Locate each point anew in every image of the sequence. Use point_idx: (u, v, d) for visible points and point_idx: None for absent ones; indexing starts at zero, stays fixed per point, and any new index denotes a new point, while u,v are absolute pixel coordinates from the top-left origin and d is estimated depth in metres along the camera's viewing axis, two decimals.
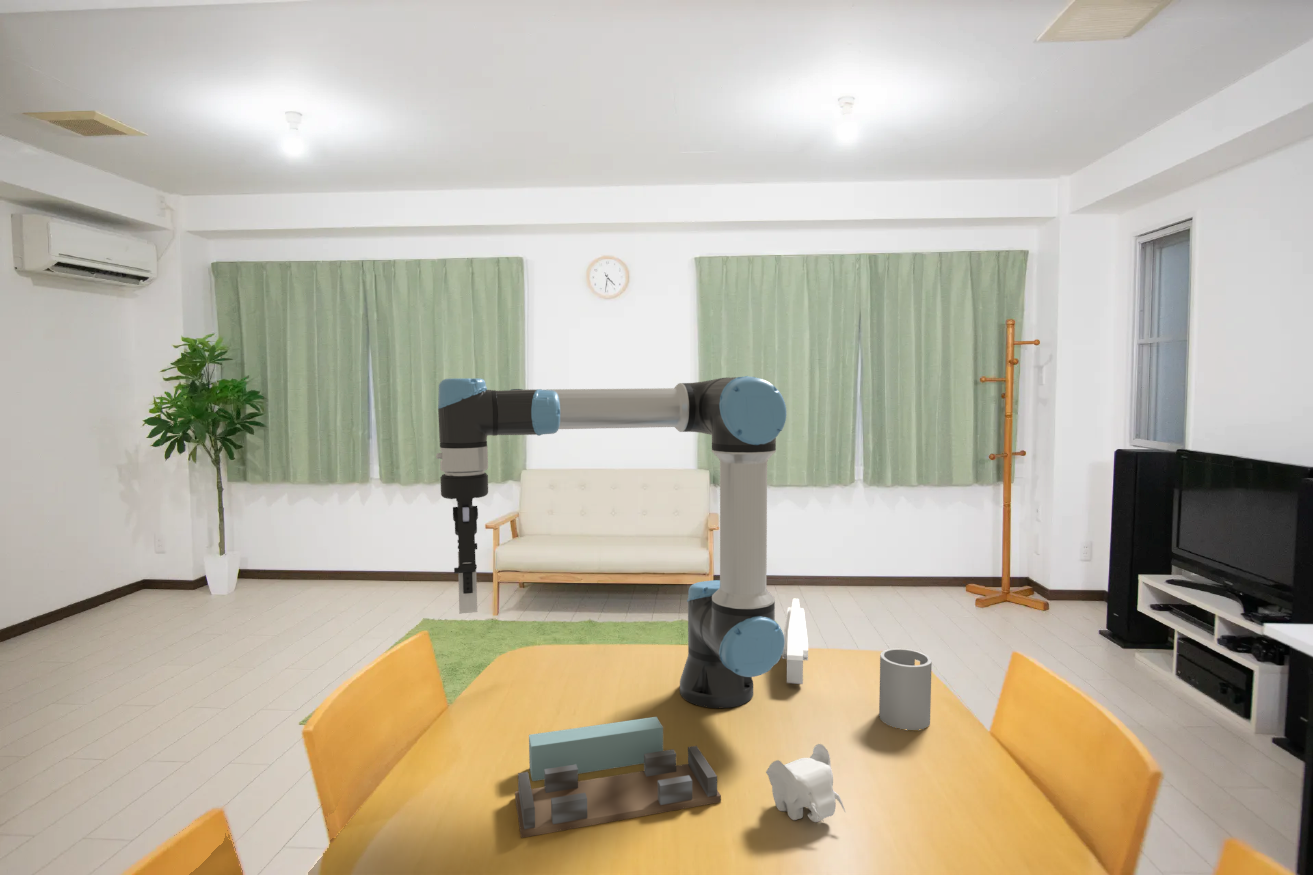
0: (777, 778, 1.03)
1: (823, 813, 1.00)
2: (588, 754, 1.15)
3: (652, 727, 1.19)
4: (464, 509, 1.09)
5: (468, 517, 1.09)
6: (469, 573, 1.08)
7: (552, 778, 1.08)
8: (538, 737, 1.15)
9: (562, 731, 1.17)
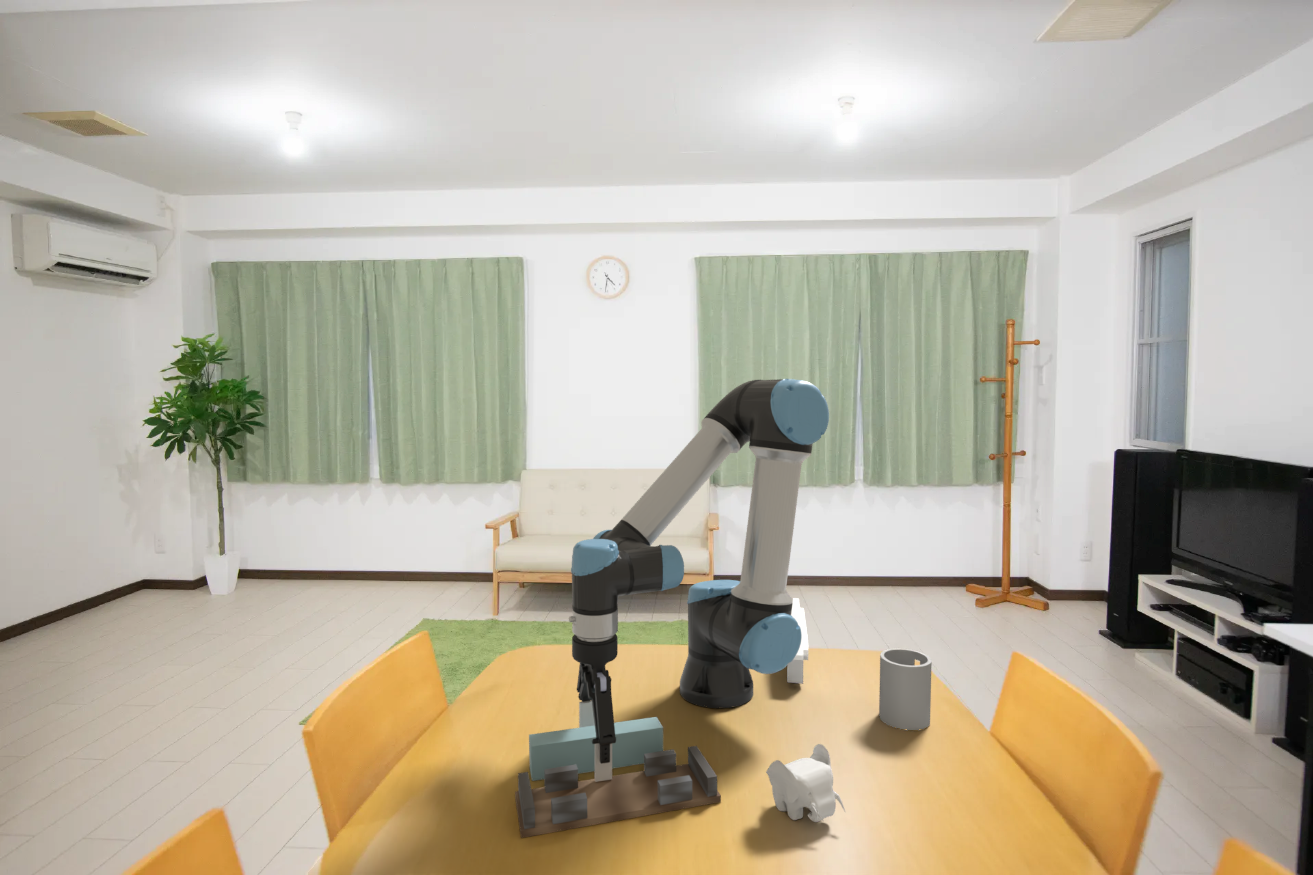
0: (777, 778, 1.03)
1: (823, 813, 1.00)
2: (588, 753, 1.15)
3: (652, 727, 1.18)
4: (602, 679, 1.10)
5: (605, 687, 1.10)
6: (607, 744, 1.09)
7: (552, 778, 1.08)
8: (538, 737, 1.15)
9: (562, 731, 1.17)
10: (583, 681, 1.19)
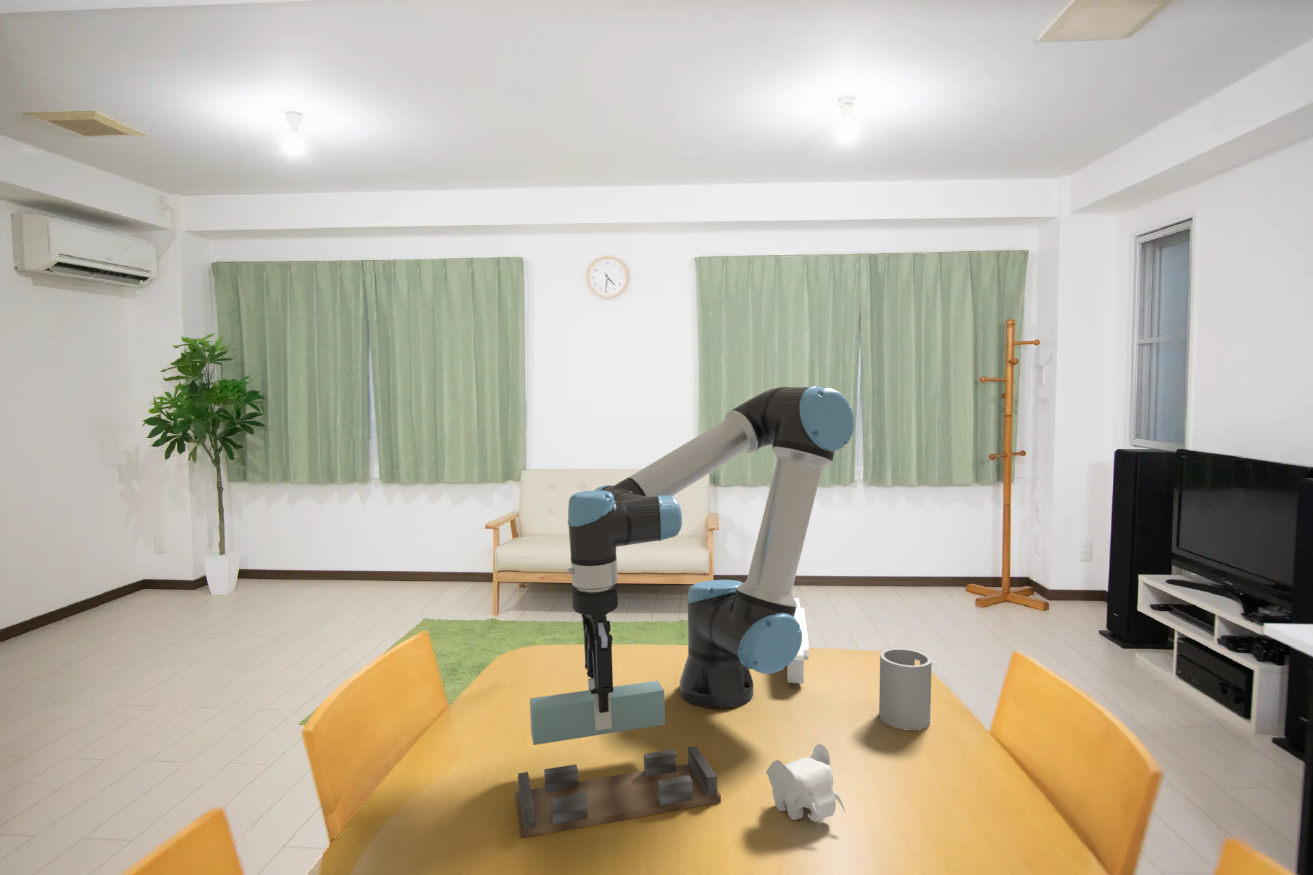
0: (777, 778, 1.03)
1: (823, 813, 1.00)
2: (589, 716, 1.15)
3: (653, 690, 1.18)
4: (603, 639, 1.10)
5: (606, 645, 1.10)
6: (605, 693, 1.13)
7: (552, 778, 1.08)
8: (539, 700, 1.15)
9: (563, 695, 1.17)
10: (587, 639, 1.17)
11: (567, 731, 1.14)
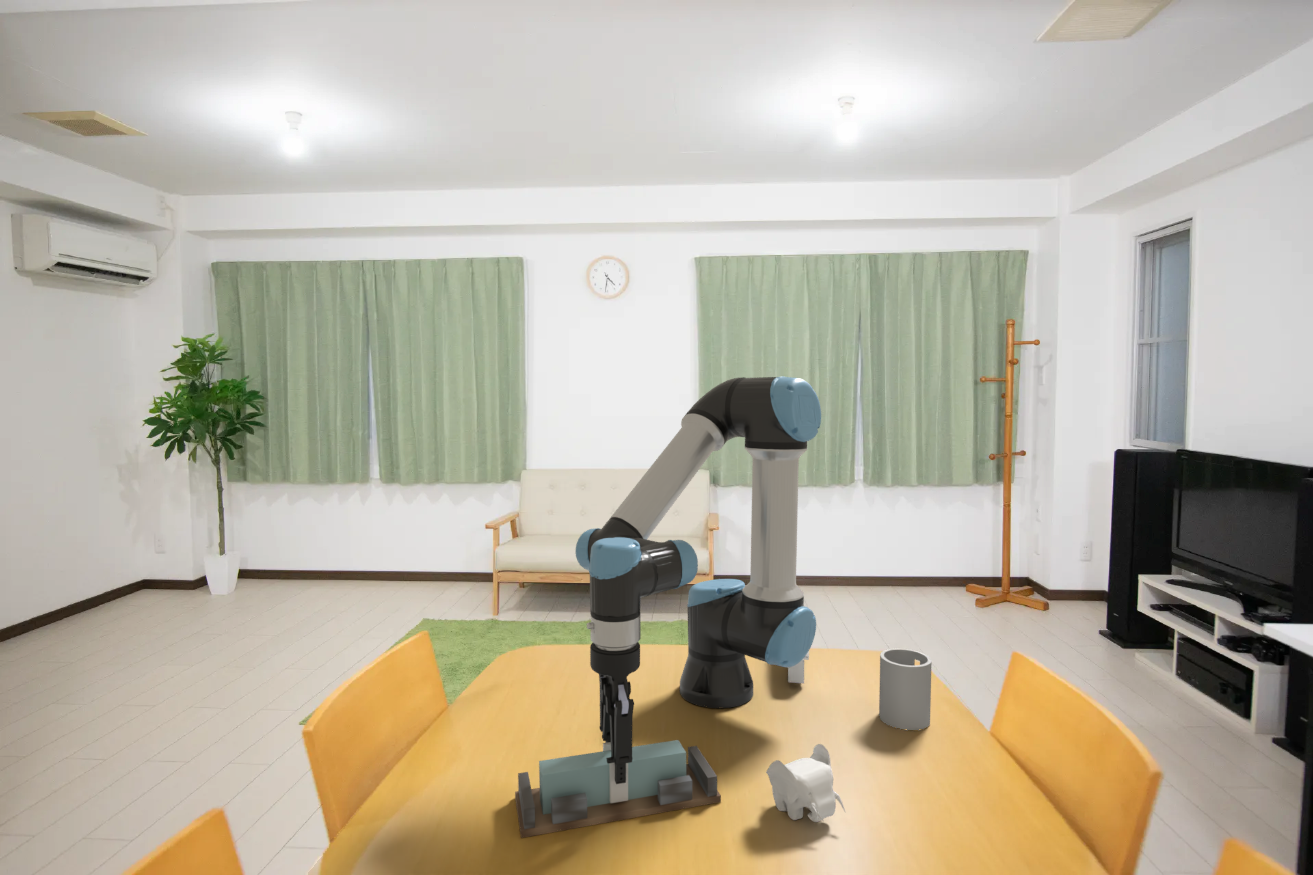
0: (777, 778, 1.03)
1: (823, 813, 1.00)
2: (604, 782, 1.05)
3: (674, 752, 1.08)
4: (624, 704, 1.00)
5: (627, 711, 1.00)
6: None
7: None
8: (549, 764, 1.05)
9: (575, 757, 1.07)
10: (604, 700, 1.07)
11: None
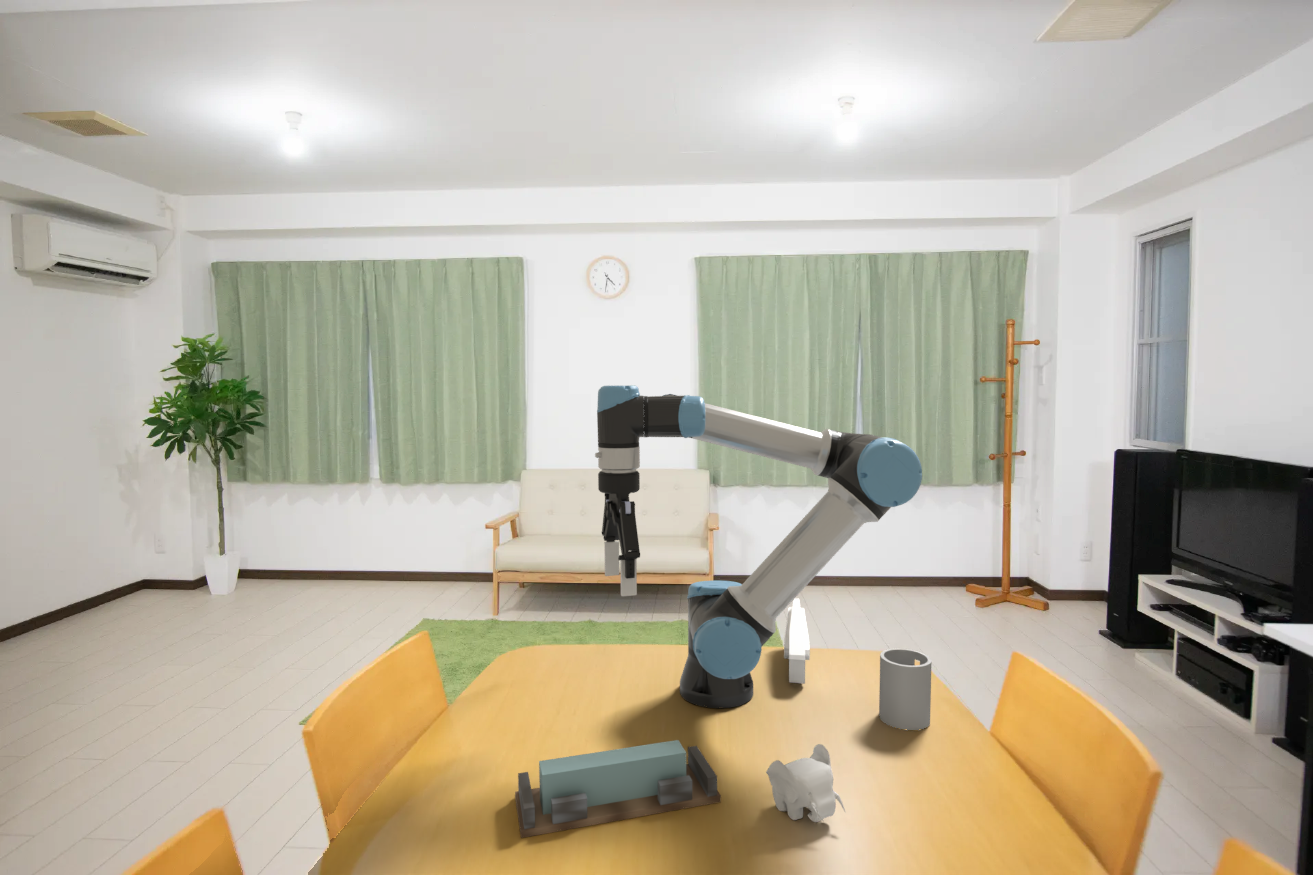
0: (777, 778, 1.03)
1: (823, 813, 1.00)
2: (604, 782, 1.05)
3: (674, 752, 1.08)
4: (626, 503, 1.22)
5: (630, 510, 1.22)
6: (632, 560, 1.21)
7: None
8: (549, 764, 1.05)
9: (575, 757, 1.07)
10: (608, 517, 1.31)
11: None
